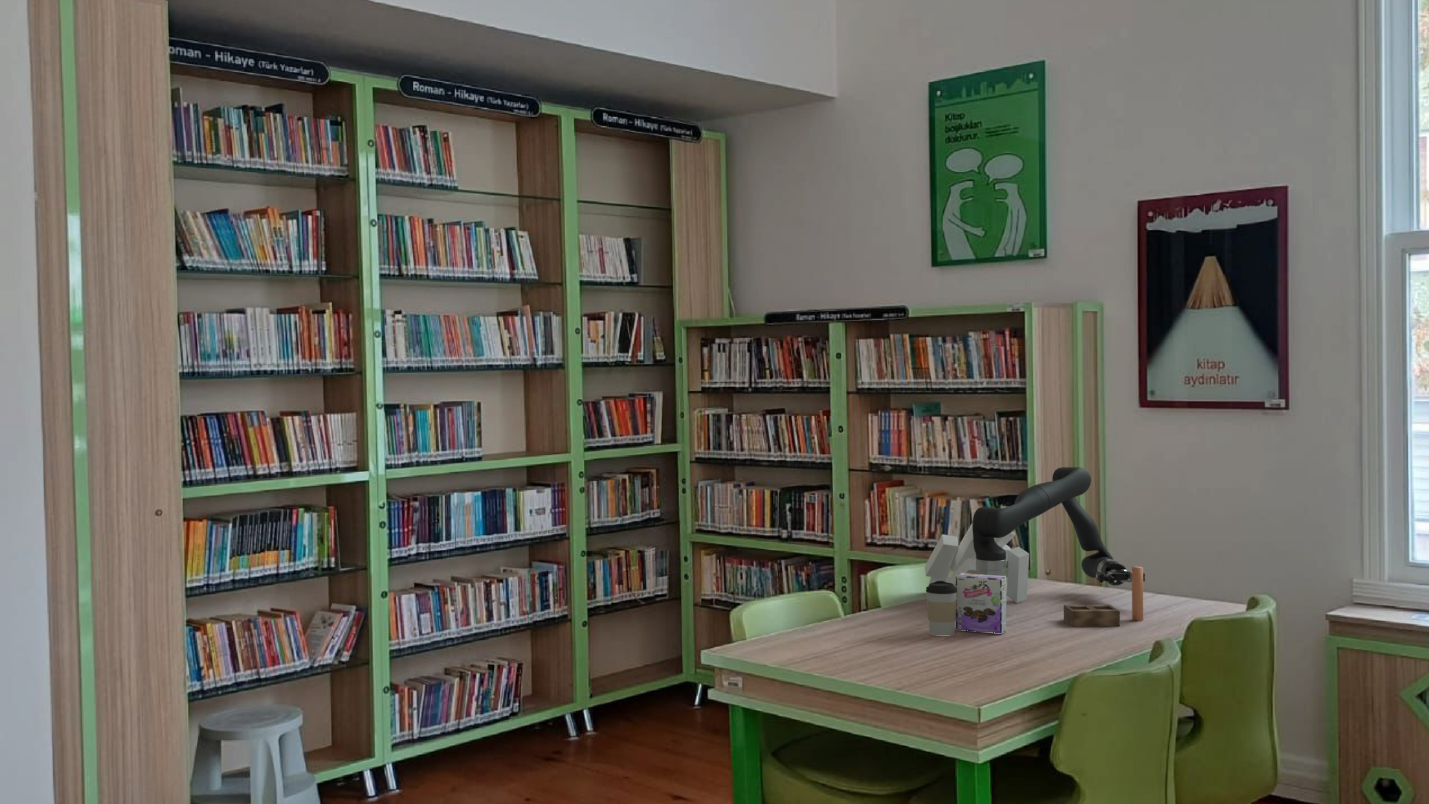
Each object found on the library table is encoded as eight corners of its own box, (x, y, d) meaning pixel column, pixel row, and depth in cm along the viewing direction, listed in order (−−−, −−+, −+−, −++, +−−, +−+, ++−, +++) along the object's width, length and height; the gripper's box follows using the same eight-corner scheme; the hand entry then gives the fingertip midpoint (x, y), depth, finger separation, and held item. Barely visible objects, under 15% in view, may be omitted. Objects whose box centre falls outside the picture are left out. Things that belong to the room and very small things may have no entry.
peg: (1133, 621, 379) (1133, 568, 378) (1130, 618, 382) (1130, 566, 381) (1144, 621, 378) (1144, 568, 378) (1141, 618, 382) (1141, 566, 381)
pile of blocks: (904, 617, 414) (922, 531, 397) (930, 570, 439) (948, 487, 422) (1008, 653, 403) (1031, 566, 386) (1028, 603, 427) (1050, 518, 410)
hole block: (1072, 626, 372) (1072, 611, 372) (1063, 619, 382) (1063, 605, 382) (1119, 626, 371) (1119, 610, 371) (1110, 619, 381) (1110, 604, 381)
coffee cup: (960, 637, 358) (959, 585, 358) (928, 637, 358) (928, 585, 358) (954, 630, 367) (954, 579, 367) (923, 631, 367) (923, 580, 367)
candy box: (955, 631, 367) (954, 575, 367) (960, 627, 372) (960, 572, 372) (1001, 635, 361) (1001, 578, 360) (1007, 631, 366) (1006, 575, 365)
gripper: (1089, 560, 407) (1103, 569, 391) (1133, 559, 407) (1149, 568, 391) (1090, 583, 408) (1104, 593, 391) (1134, 582, 407) (1150, 592, 391)
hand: (1127, 580), depth 391 cm, fingers open, 8 cm apart
